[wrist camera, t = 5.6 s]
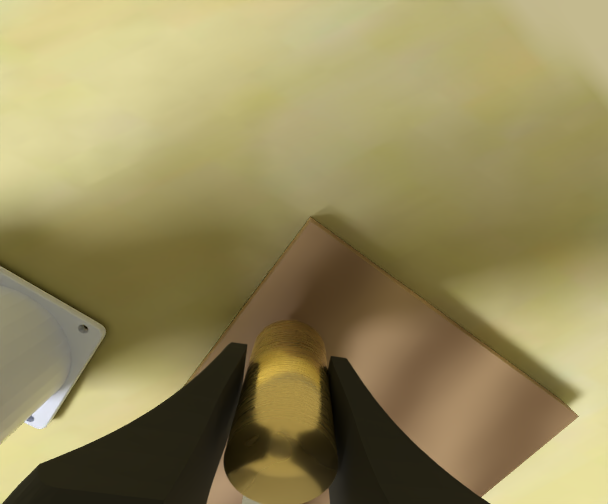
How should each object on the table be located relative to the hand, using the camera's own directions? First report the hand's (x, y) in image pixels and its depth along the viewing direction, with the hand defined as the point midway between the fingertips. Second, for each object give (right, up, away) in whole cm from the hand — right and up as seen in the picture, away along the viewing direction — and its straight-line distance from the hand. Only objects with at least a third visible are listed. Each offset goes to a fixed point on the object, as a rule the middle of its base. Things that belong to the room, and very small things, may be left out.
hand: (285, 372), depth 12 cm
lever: (-1, -6, +5) cm, 8 cm away
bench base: (+2, -7, +7) cm, 11 cm away
